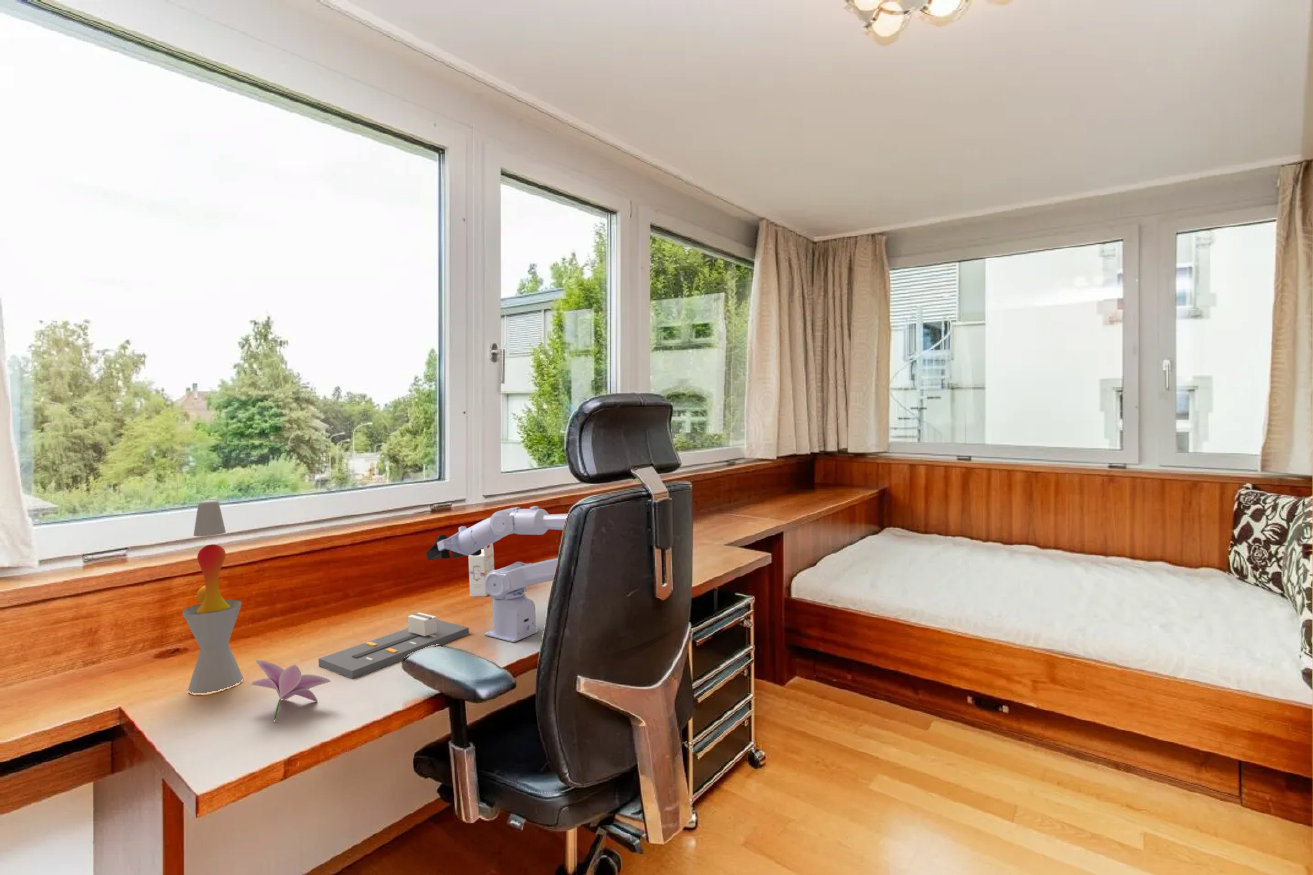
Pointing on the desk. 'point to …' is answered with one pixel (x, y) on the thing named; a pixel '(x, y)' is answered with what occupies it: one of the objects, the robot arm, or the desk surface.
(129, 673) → the desk surface
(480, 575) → the ink cartridge box
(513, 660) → the desk surface
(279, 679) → the lily
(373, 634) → the desk surface
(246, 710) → the desk surface
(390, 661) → the board
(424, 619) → the fader tab
